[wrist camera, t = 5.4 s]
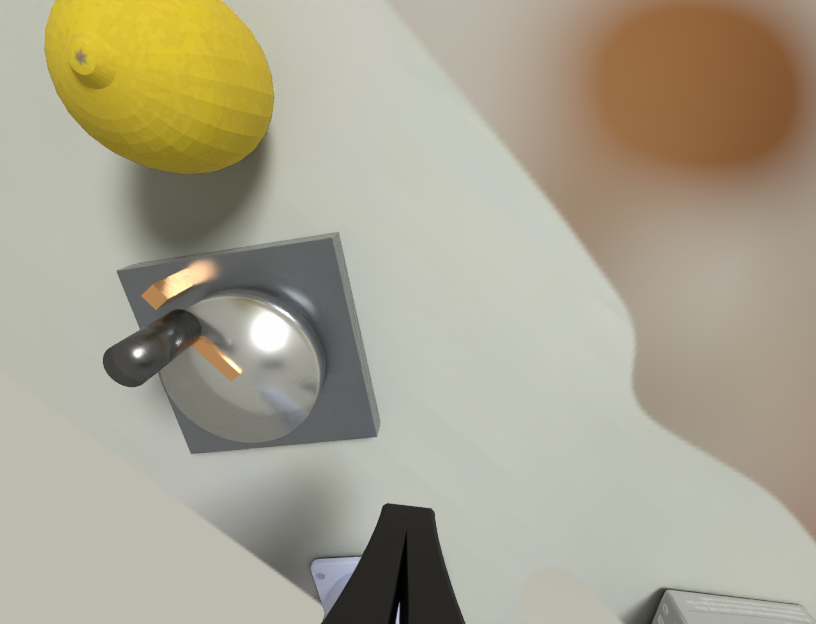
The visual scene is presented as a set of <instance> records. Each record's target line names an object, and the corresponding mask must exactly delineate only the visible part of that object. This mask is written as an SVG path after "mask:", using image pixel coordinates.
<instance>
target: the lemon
mask: <svg viewBox="0 0 816 624" xmlns="http://www.w3.org/2000/svg"><path fill="white" fill-rule="evenodd" d="M44 49H45V55H46V61H47V67H48V71H49V73H50V76H51V78H52V81H53V84H54V86H55V89H56V92H57V94H58V95H59V97H60V99H61V100H62V102H63V104H64V105H65V107H66V109H67V110H68V112H69V113H70V114H71V116H72V117H73V118H74V119H75V120H76V121H77V122H78V123H79V124H80V126H81V127H82V128H83V129H84V130H85V131H86V132H87V133H88V134H89V135H90V136H91V137H93V138H94V139H95V140H97V141H98V142H100V143H101V144H102V145H104V146H105V147H106V148H108V149H109V150H111V151H112V152H114V153H116V154H118V155H120V156H122V157H125V158H127V159H129V160H131V161H133V162H136V163H138V164H140V165H142V166H146V167H149V168H153V169H157V170H162V171H168V172H173V173H179V174H196V173H207V172H214V171H217V170H220V169H223V168H225V167H228V166H231V165H233V164H236V163H238V162H239V161H241V160H242V159H243V158H244V157H246V156H247V155H248V154H250V153H251V152H252V151H253V150H254V149H255V148H256V147H257V145H258V144H259V143H260V141H261V140H262V138H263V137H264V135H265V134H266V131H267V129H268V126H269V123H270V121H271V118H272V112H273V103H274V91H273V82H272V75H271V72H270V69H269V66H268V63H267V60H266V57H265V55H264V53H263V51H262V49H261V47H260V46H259V44H258V42H257V41H256V39H255V37H254V35H253V34H252V32H251V31H250V29H249V28H248V27H247V26H246V25H245V24H244V22H243V21H242V20H241V19H240V18H239V17H238V16H237V15H236V14H235V13H234V12H233V11H232V10H231V9H230V8H229V7H228V6H227V5H226V4H225V3H224V2H222V1H221V0H56V1H55V3H54V4H53V6H52V9H51V12H50V15H49V19H48V22H47V25H46V28H45V47H44Z"/></svg>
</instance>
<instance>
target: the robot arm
mask: <svg viewBox="0 0 816 624" xmlns="http://www.w3.org/2000/svg"><path fill="white" fill-rule="evenodd" d="M311 572H312V575H313V578H314V581H315V584H316V587H317V590H318V593H319V596H320V599H321V602H322V605H323V608H324V611H325V614H324V618H323V622H322V623H321V624H465V621H464V619H463V616H462V613H461V611H460V608H459V605H458V603H457V600H456V597H455V594H454V591H453V588H452V585H451V582H450V579H449V575H448V572H447V569H446V566H445V562H444V559H443V555H442V551H441V547H440V543H439V538H438V534H437V528H436V522H435V512H434V511H433V510H432V509H431V508H423V507H414V506H406V505H397V504H389V503H387V504H385V505H384V506H383V507H382V511H381V514H380V517H379V520H378V522H377V525H376V527H375V530H374V532H373V534H372V536H371V539H370V541H369V543H368V545H367V547H366V549H365V551H364V553H363V555H362V557H345V558H327V559H316V560H314V561H313V562H312V565H311Z"/></svg>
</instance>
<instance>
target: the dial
mask: <svg viewBox="0 0 816 624" xmlns="http://www.w3.org/2000/svg"><path fill="white" fill-rule="evenodd" d="M103 365H104V368H105V370H106V372H107V374H108V375H109V376H110V377H111V378H112V379H113V380H114V381H116V382H117V383H119V384H121V385H123V386H127V387H137V386H140V385H142V384H143V383H144V382H146V381H147V380H148V379H150V378H151V377H152V376H153V375H155V374H156V373H157V372H159V371H160V374H161V378H162V381H163V383H164V386H165V388H166V390H167V392H168V394H169V396H170V397H171V399H172V400H173V402H174V403H175V405H176V406H177V407H178V408H179V409H180V410H181V412H182V413H183V414H185V415H186V416H187V417H188V418H189V419H190V420H191V421H193V422H194V423H195V424H197V425H198V426H200V427H201V428H203V429H204V430H206V431H208V432H210V433H212V434H214V435H216V436H219V437H222V438H225V439H228V440H232V441H238V442H244V443H258V442H266V441H271V440H275V439H278V438H281V437H283V436H285V435H287V434H289V433H290V432H292V431H293V430H295V429H296V428H297V427H298V426H299V425H300V424H301V423H302V422H303V421H304V420H305V419H306V417H307V416H308V414H309V413H310V411H311V409H312V407H313V405H314V403H315V401H316V399H317V397H318V395H319V393H320V391H321V389H322V386H323V383H324V379H325V371H326V363H325V355H324V351H323V347H322V345H321V342H320V340H319V338H318V336H317V334H316V332H315V330H314V329H313V327H312V326H311V325H310V323H309V322H308V321H307V320H306V319H305V317H304V316H303V315H302V314H301V313H300V312H298V311H297V310H296V309H295V308H294V307H292V306H291V305H289V304H288V303H287V302H285V301H283V300H281V299H279V298H278V297H276V296H273V295H271V294H268V293H265V292H262V291H258V290H253V289H244V288H235V289H227V290H222V291H218V292H215V293H213V294H211V295H208V296H206V297H205V298H203V299H202V300H200V301H198V302H197V303H195V304H194V305H192V306H190V307H189V308H187V309H186V310H182V309H176V310H173V311H171V312H169V313H167V314H166V315H164V316H162V317H161V318H159V319H157V320H156V321H154V322H152V323H151V324H149V325H147V326H146V327H144V328H142V329H141V330H139V331H137V332H136V333H134V334H132V335H131V336H129V337H127V338H126V339H124V340H122V341H120V342H119V343H117V344H115V345H114V346H112V347H110V348H109V349H108V350H107V351H106V352H105V354H104V356H103Z"/></svg>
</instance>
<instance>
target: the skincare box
mask: <svg viewBox="0 0 816 624" xmlns="http://www.w3.org/2000/svg"><path fill="white" fill-rule="evenodd" d="M652 624H816V621H815V620H814V618H813V617H812V616H811V615H810V614H809V613H808V612H807V610H806V609H805V607H804V606H802V605H796V604H787V603H779V602H770V601H761V600H753V599H744V598H736V597H727V596H719V595H710V594H701V593H693V592H684V591H676V590H666V591H665V593H664V595H663V597H662V599H661V602H660V604H659V606H658V609H657V611H656V614H655V616H654V619H653V621H652Z"/></svg>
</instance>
